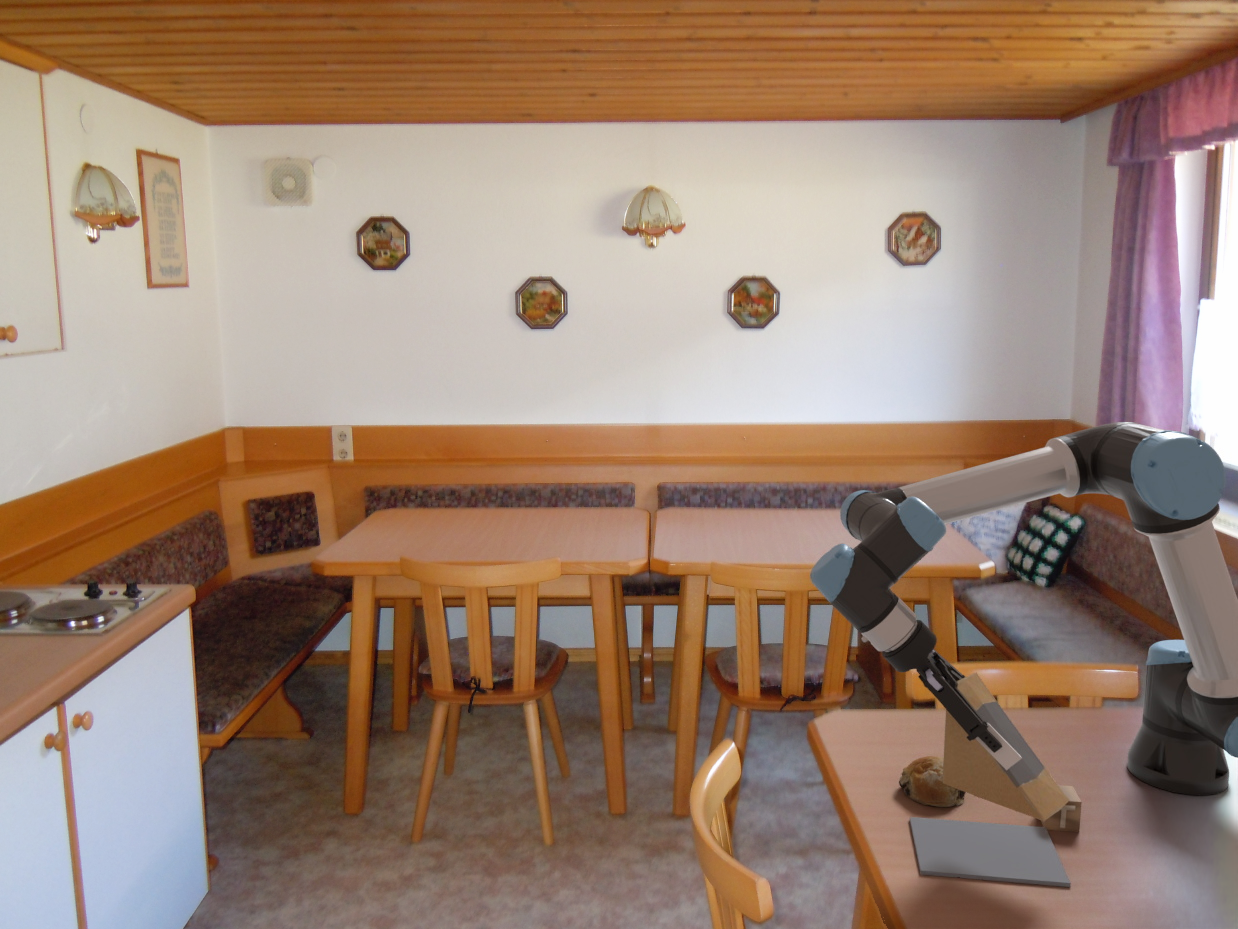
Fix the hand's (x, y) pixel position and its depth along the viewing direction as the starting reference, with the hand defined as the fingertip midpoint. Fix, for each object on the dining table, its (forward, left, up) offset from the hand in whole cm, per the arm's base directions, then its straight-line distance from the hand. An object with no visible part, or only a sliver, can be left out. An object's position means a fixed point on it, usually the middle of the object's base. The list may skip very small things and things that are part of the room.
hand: (1005, 743), depth 148 cm
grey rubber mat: (+2, 0, -17) cm, 17 cm away
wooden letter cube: (-11, -11, -17) cm, 23 cm away
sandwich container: (0, +2, -7) cm, 7 cm away
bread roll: (+7, -17, -18) cm, 26 cm away
